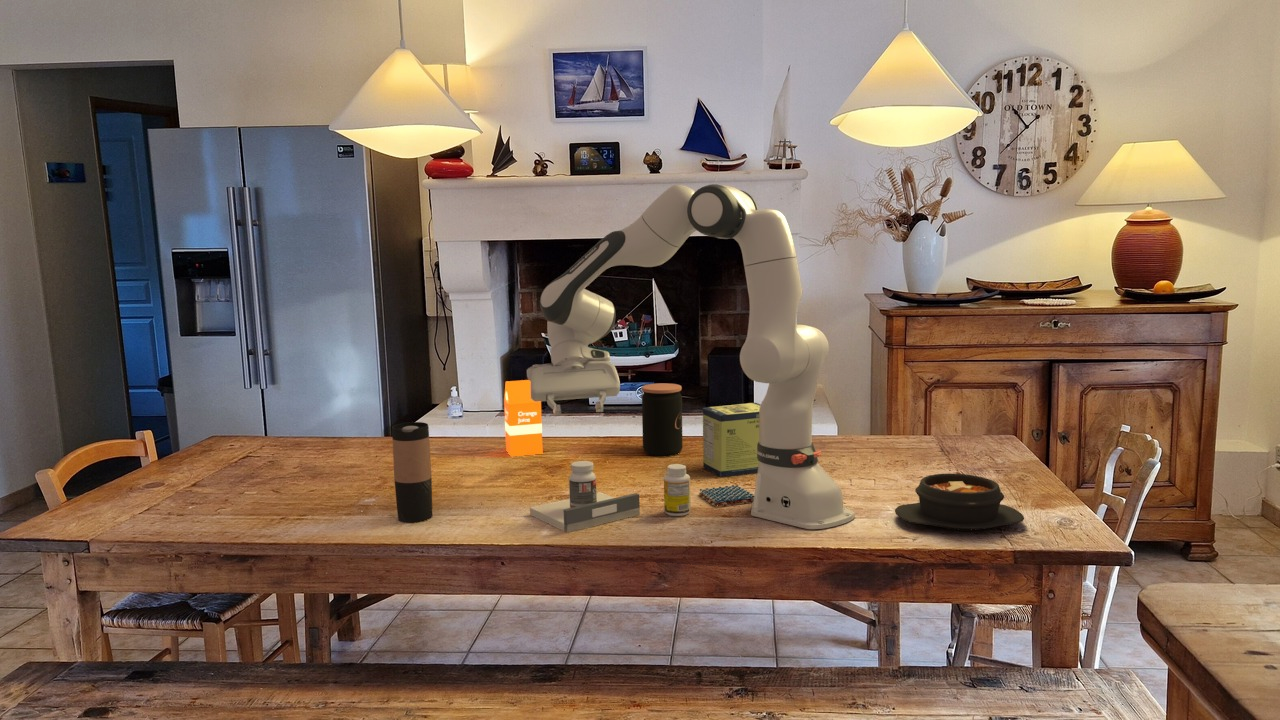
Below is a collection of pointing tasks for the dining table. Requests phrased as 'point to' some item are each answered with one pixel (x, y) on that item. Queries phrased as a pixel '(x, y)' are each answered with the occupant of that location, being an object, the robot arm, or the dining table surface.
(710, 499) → the woven mat
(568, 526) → the shelf
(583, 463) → the pill bottle
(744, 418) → the protein box
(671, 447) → the coffee jar
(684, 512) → the supplement bottle
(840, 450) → the dining table surface
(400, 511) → the travel mug
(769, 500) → the robot arm
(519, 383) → the orange juice
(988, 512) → the casserole
